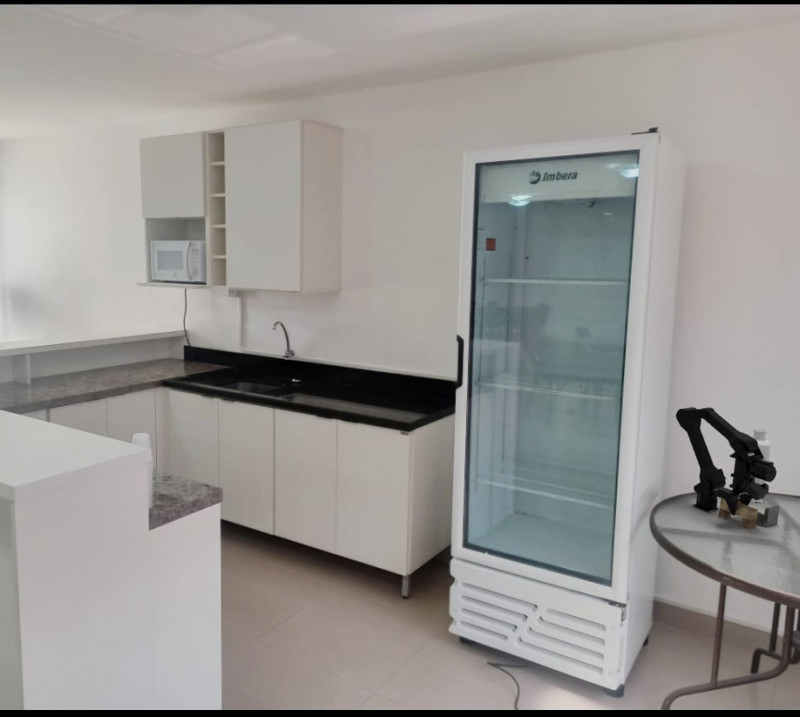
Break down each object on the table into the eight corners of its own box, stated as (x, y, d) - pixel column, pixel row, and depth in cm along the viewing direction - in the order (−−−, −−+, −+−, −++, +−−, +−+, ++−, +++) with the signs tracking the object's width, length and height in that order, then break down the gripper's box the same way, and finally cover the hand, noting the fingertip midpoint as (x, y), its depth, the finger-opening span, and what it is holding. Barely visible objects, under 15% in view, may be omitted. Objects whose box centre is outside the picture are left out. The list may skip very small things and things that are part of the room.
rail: (719, 508, 234) (720, 498, 233) (726, 506, 235) (727, 497, 235) (750, 520, 223) (751, 511, 223) (756, 519, 225) (758, 509, 224)
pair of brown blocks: (718, 515, 234) (719, 508, 234) (725, 513, 236) (726, 506, 235) (748, 528, 224) (749, 520, 223) (756, 526, 225) (757, 518, 225)
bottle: (762, 505, 245) (771, 434, 240) (738, 500, 249) (747, 430, 244) (764, 498, 251) (772, 429, 246) (741, 493, 256) (749, 426, 251)
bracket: (726, 511, 238) (728, 493, 237) (738, 507, 242) (740, 490, 240) (765, 527, 225) (768, 508, 224) (778, 523, 228) (780, 505, 227)
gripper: (746, 484, 215) (741, 527, 218) (781, 476, 224) (775, 517, 226) (717, 473, 225) (712, 515, 228) (751, 466, 233) (746, 506, 236)
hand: (737, 513), depth 229 cm, fingers open, 5 cm apart
